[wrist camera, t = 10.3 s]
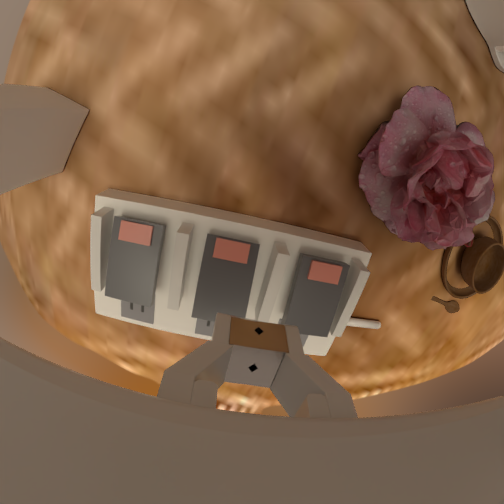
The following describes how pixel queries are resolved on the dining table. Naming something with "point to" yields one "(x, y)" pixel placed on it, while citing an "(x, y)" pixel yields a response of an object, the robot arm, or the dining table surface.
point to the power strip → (190, 258)
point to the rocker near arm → (315, 294)
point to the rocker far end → (134, 260)
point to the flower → (428, 172)
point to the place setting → (476, 267)
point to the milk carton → (35, 133)
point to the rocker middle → (225, 277)
